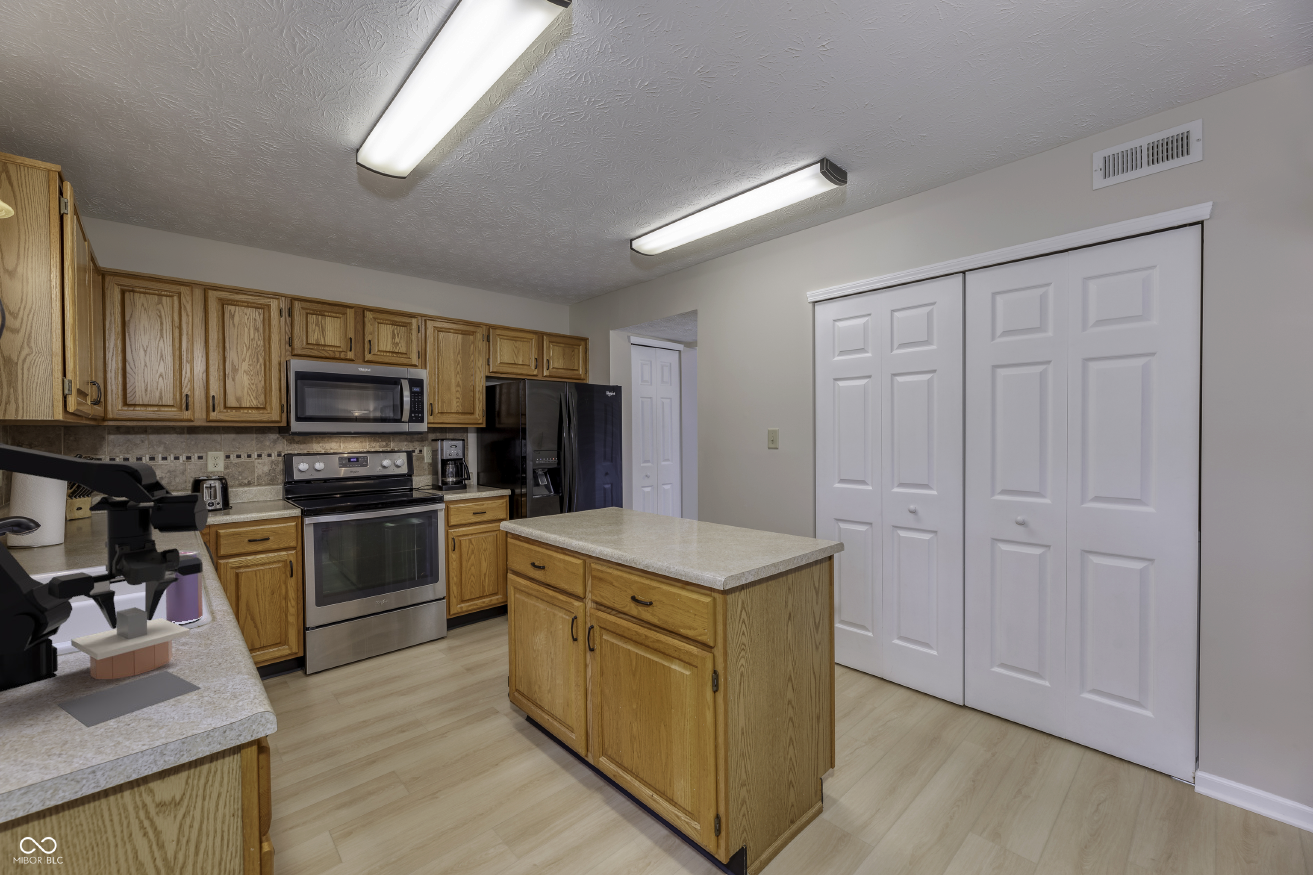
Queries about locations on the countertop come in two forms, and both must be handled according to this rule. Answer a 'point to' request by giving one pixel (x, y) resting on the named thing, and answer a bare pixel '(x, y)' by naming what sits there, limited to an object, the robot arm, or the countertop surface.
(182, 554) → the beverage can
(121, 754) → the countertop surface
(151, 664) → the bowl
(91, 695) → the mat
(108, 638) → the cover sheet
